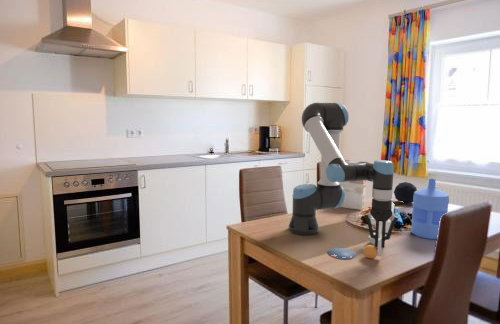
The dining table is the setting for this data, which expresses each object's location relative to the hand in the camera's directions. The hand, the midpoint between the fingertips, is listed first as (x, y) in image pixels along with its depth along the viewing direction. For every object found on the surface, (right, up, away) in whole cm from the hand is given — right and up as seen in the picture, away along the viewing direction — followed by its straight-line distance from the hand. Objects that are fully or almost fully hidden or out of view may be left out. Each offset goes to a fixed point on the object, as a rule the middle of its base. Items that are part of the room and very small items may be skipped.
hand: (379, 254), depth 145 cm
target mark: (-14, -1, +6) cm, 15 cm away
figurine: (+6, 0, +18) cm, 19 cm away
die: (+14, +2, +33) cm, 36 cm away
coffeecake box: (+12, +9, +80) cm, 82 cm away
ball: (-3, +1, +1) cm, 4 cm away
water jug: (+36, +2, +30) cm, 47 cm away
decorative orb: (+52, +10, +92) cm, 106 cm away
